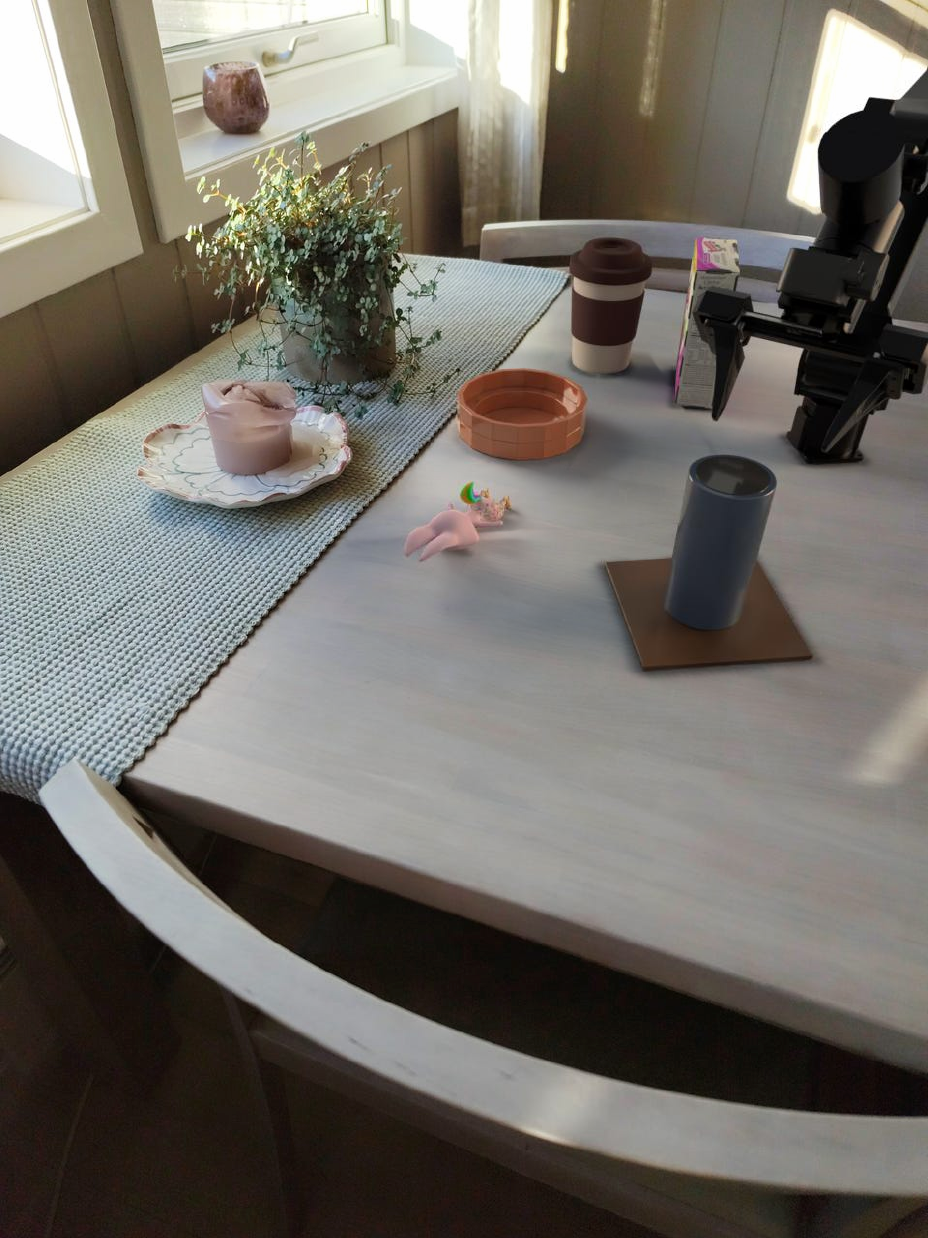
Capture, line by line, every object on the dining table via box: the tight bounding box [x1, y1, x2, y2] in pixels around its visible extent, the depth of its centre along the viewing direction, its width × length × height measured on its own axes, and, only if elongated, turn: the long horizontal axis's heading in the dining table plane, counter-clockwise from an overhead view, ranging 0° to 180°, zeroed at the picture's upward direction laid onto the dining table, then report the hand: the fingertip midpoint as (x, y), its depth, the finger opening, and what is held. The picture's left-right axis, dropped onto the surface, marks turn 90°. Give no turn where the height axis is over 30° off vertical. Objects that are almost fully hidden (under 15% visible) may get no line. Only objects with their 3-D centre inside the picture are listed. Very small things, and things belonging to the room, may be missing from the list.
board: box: [604, 557, 814, 672], centre depth 75 cm, size 14×14×1 cm
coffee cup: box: [568, 236, 654, 375], centre depth 108 cm, size 10×10×15 cm
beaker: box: [664, 454, 778, 630], centre depth 70 cm, size 7×7×13 cm
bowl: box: [456, 367, 588, 461], centre depth 98 cm, size 14×14×4 cm
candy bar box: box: [674, 236, 741, 410], centre depth 102 cm, size 11×5×16 cm, turn 168°
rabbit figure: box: [404, 481, 512, 563], centre depth 81 cm, size 6×6×15 cm
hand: (767, 434), depth 71 cm, fingers open, 9 cm apart
